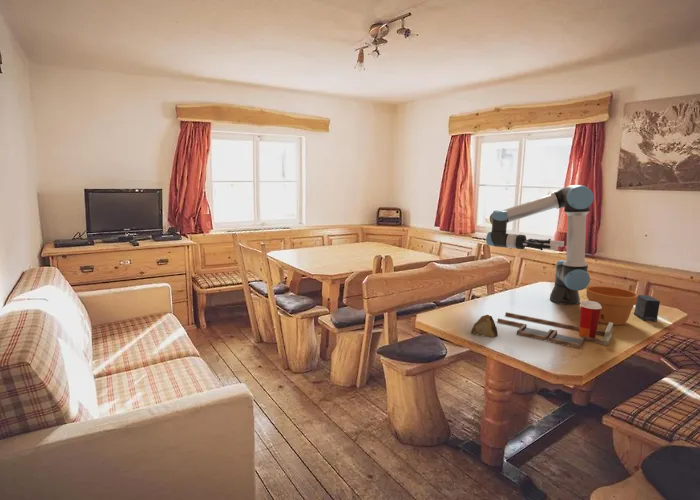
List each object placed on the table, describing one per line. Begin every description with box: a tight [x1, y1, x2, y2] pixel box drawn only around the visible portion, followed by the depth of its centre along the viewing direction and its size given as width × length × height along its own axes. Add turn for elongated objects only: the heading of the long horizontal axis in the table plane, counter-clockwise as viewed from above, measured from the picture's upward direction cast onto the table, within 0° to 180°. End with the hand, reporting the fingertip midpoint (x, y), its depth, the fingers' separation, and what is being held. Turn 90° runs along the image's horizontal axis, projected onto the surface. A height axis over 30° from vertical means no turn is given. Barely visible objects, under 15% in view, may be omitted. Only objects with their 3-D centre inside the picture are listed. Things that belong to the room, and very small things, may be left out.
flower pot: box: [586, 285, 639, 326], centre depth 204 cm, size 21×21×15 cm
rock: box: [470, 314, 499, 338], centre depth 185 cm, size 11×9×10 cm
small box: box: [633, 294, 661, 322], centre depth 209 cm, size 11×6×10 cm, turn 168°
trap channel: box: [497, 311, 614, 349], centre depth 188 cm, size 46×24×6 cm, turn 53°
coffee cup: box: [579, 300, 602, 339], centre depth 183 cm, size 8×8×15 cm
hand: (561, 245), depth 209 cm, fingers open, 13 cm apart
